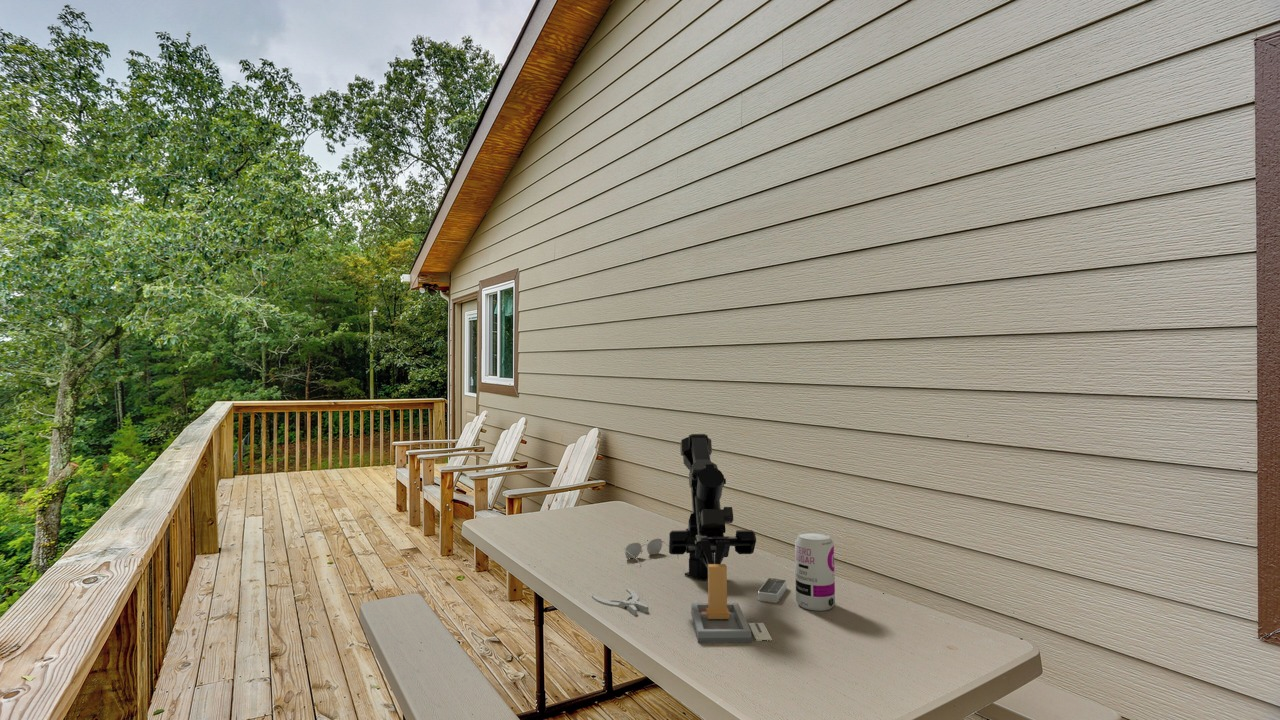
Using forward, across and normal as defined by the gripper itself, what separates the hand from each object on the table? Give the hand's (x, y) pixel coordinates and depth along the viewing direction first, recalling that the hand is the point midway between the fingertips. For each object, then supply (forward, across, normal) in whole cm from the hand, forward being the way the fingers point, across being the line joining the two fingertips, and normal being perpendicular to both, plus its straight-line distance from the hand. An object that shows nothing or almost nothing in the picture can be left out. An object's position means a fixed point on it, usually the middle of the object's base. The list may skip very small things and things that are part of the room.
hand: (715, 578), depth 128 cm
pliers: (0, -19, +12) cm, 22 cm away
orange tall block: (+7, 0, +3) cm, 7 cm away
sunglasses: (-24, -12, +36) cm, 45 cm away
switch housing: (+10, +2, +2) cm, 10 cm away
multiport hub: (-4, +15, +15) cm, 22 cm away
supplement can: (+1, +23, +10) cm, 25 cm away
